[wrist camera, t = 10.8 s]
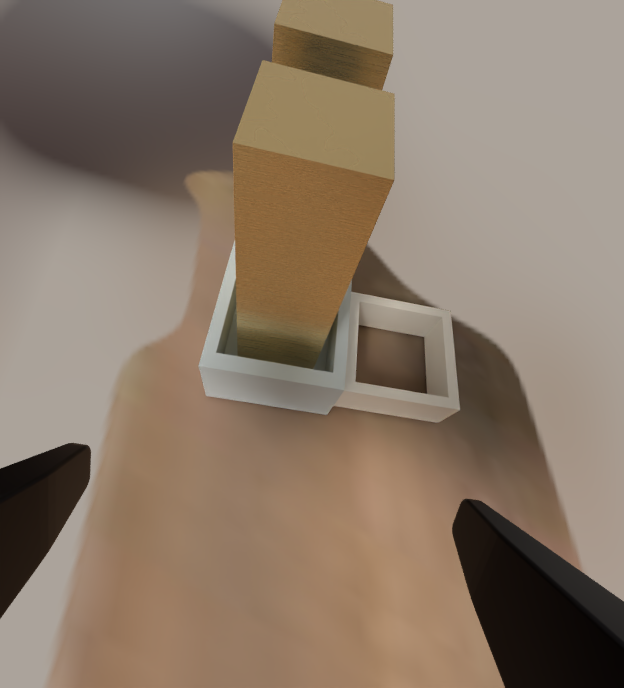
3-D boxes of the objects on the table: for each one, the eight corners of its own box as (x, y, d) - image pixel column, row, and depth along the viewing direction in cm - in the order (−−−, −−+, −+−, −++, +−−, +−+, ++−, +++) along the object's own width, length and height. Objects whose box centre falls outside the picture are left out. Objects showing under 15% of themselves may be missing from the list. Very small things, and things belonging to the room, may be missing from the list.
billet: (310, 375, 20) (394, 180, 9) (237, 362, 19) (232, 142, 9) (318, 312, 22) (394, 91, 11) (252, 300, 21) (263, 57, 11)
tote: (438, 422, 21) (460, 410, 19) (332, 405, 21) (343, 390, 19) (432, 331, 25) (450, 311, 22) (340, 313, 24) (350, 291, 22)
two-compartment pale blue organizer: (326, 415, 20) (344, 390, 17) (206, 395, 20) (198, 365, 16) (342, 240, 27) (357, 196, 24) (252, 221, 26) (254, 173, 23)
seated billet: (321, 283, 23) (393, 54, 12) (258, 270, 23) (274, 23, 12) (326, 235, 25) (393, 2, 14) (269, 223, 25) (291, -26, 14)
